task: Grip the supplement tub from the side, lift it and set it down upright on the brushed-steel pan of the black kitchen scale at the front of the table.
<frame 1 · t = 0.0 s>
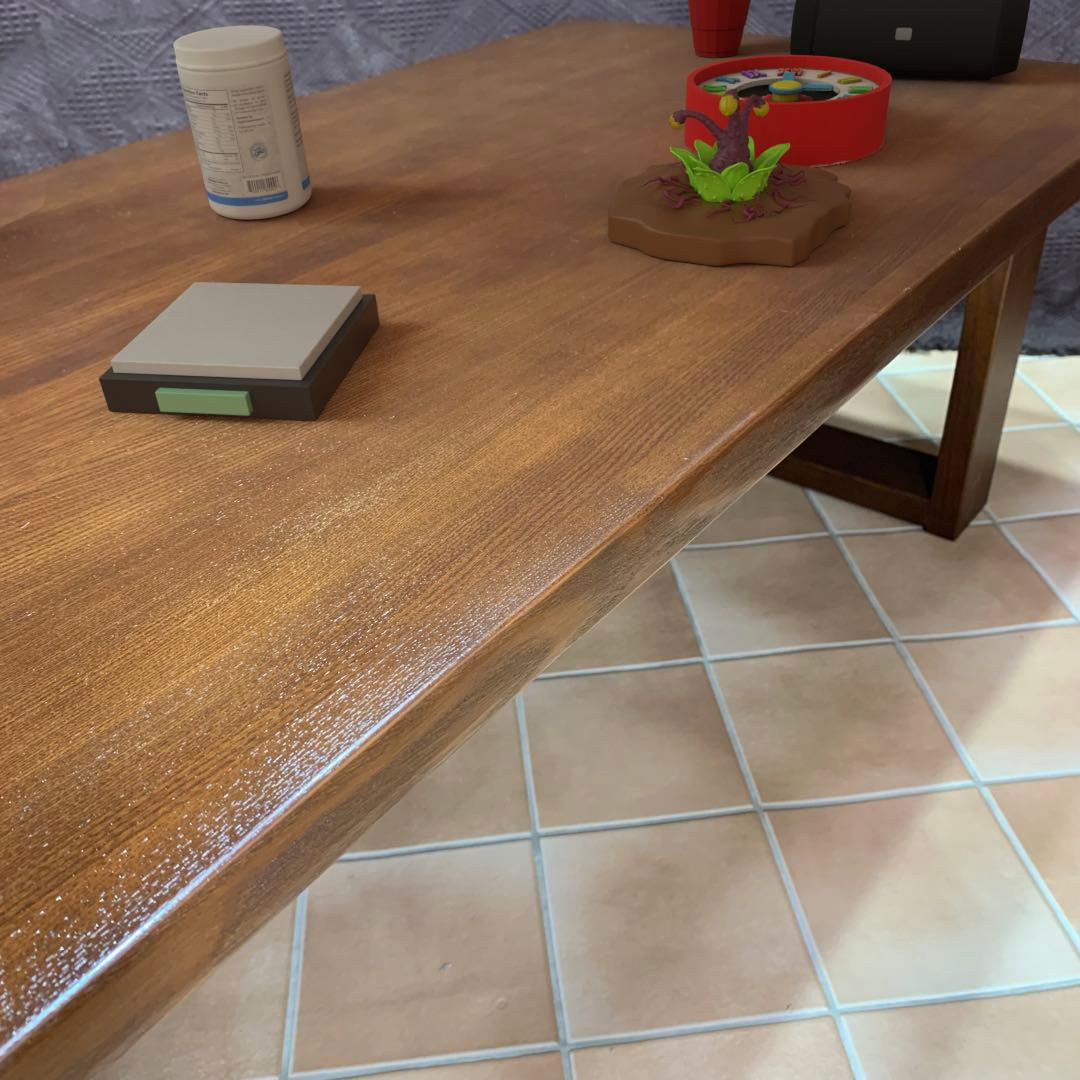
plant: (725, 225, 92), on the table
supplement tub: (262, 207, 101), on the table
scale: (252, 365, 74), on the table
plastic cup: (718, 54, 143), on the table
toy clock: (782, 140, 111), on the table
portable speaker: (899, 77, 129), on the table
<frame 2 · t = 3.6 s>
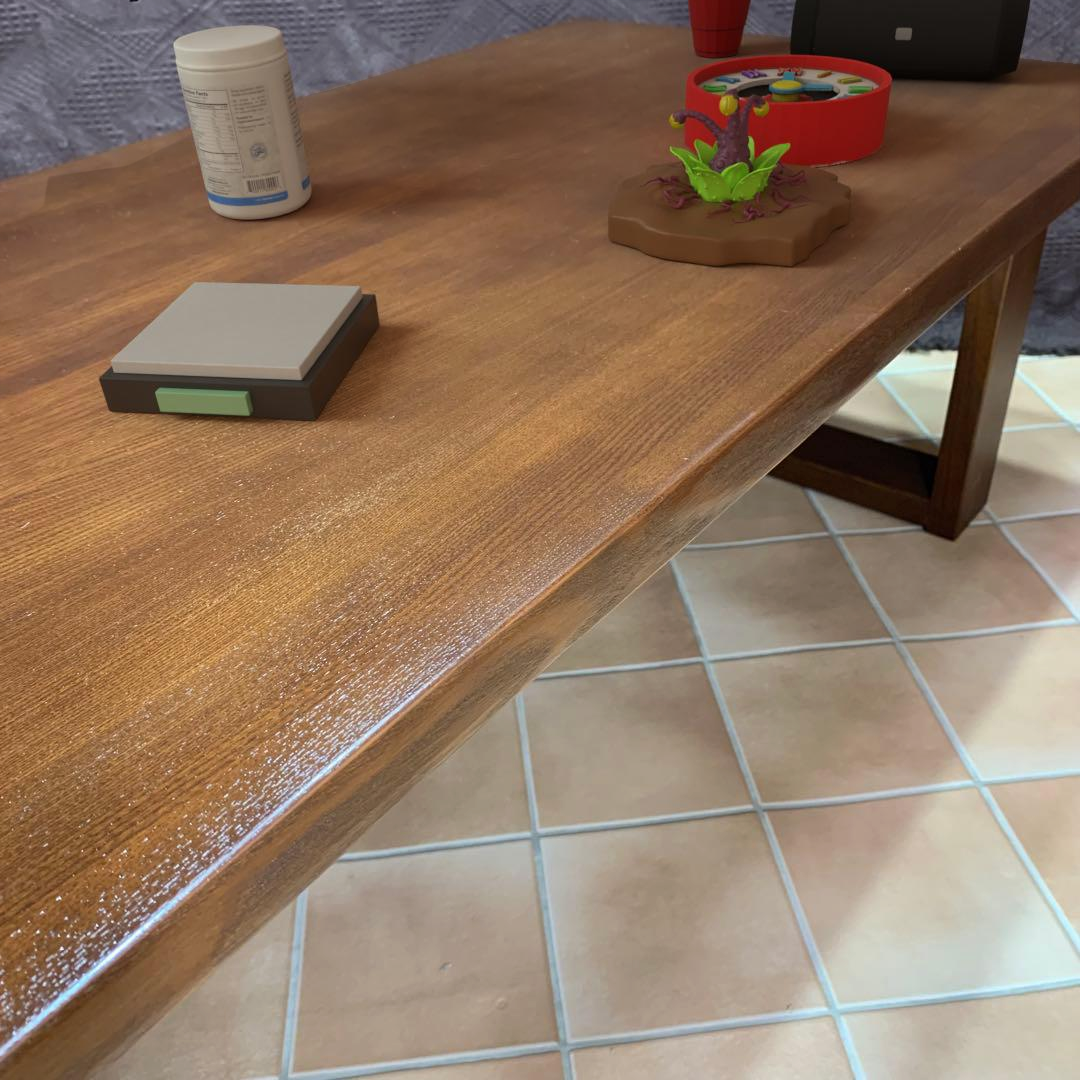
nothing on the table moved.
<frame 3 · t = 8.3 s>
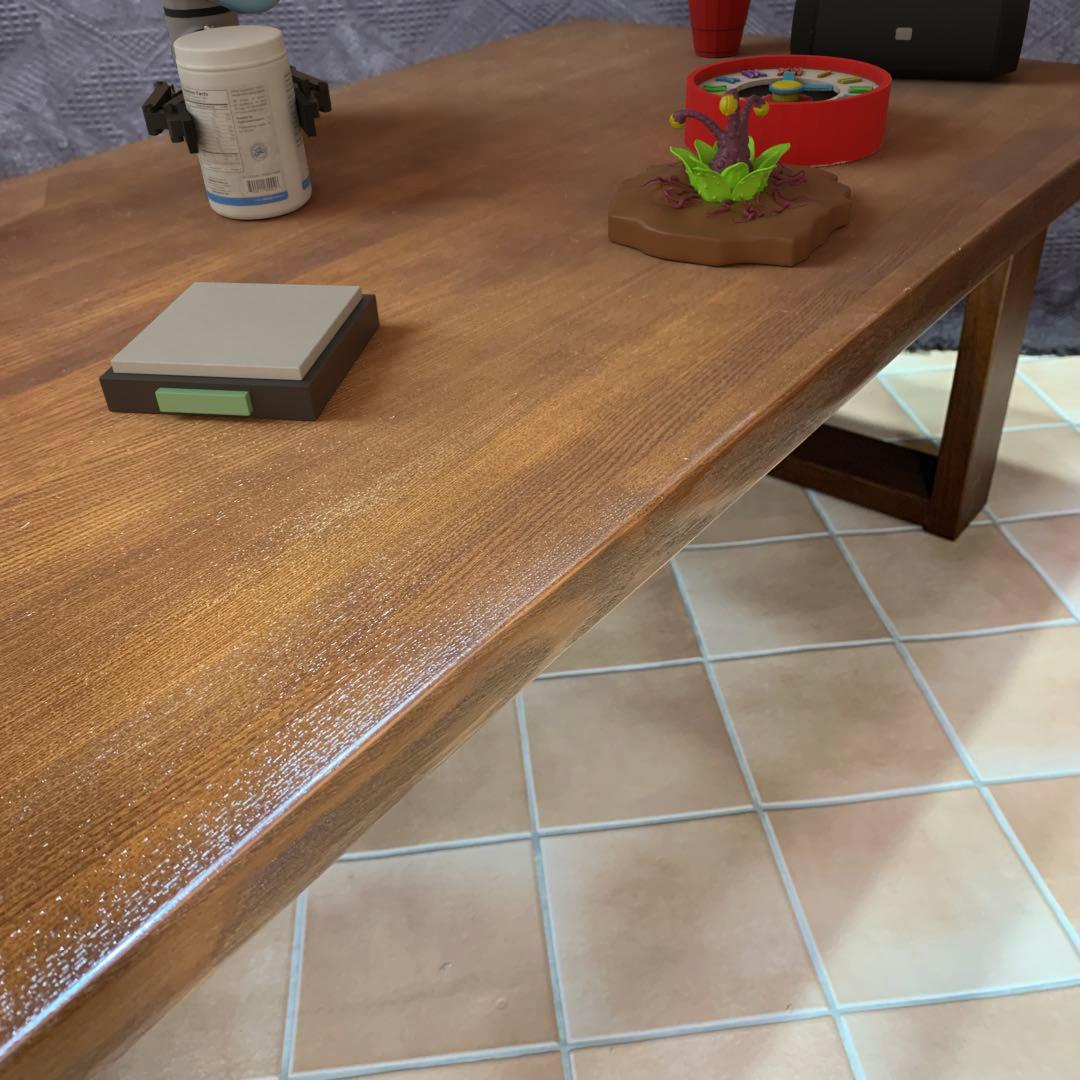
hand: (251, 128, 93), 8 cm above the table, tool horizontal, fingers closed on supplement tub, 9 cm apart
supplement tub: (262, 207, 101), on the table, touching gripper
everything else where it was.
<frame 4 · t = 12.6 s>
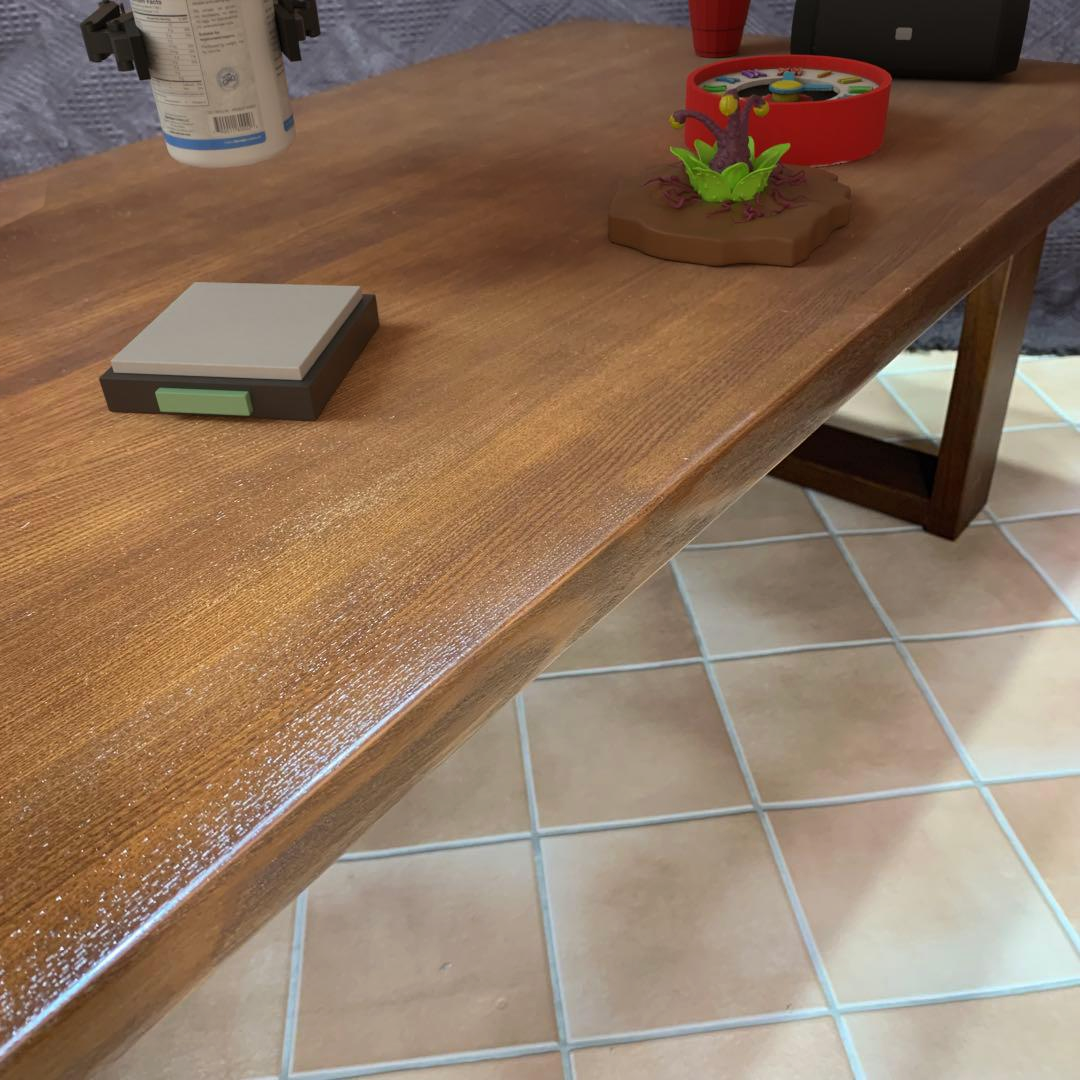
hand: (217, 49, 73), 18 cm above the table, tool horizontal, fingers closed on supplement tub, 9 cm apart
supplement tub: (234, 155, 81), point 10 cm above the table, touching gripper
everything else where it was.
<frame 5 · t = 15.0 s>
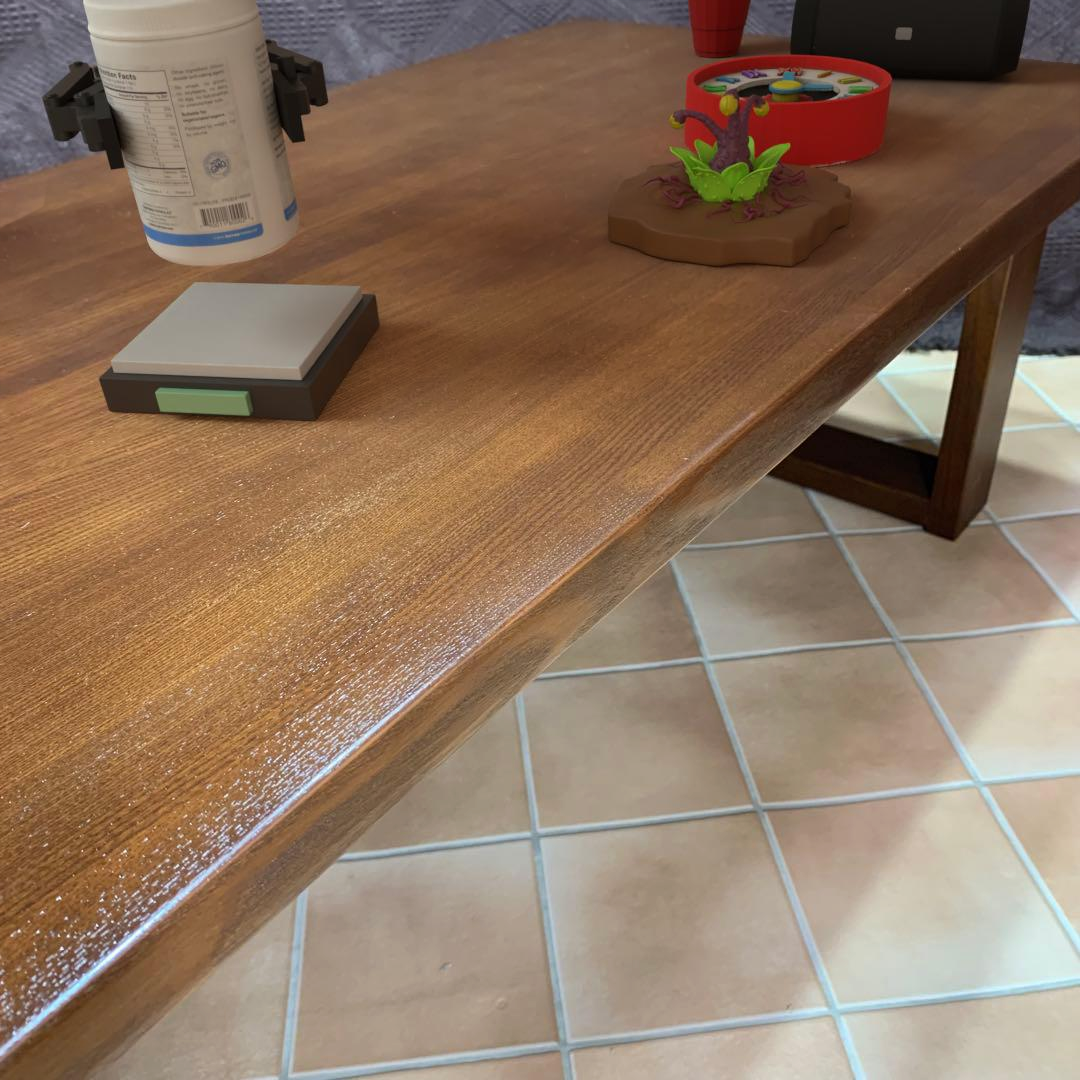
hand: (204, 130, 61), 17 cm above the table, tool horizontal, fingers closed on supplement tub, 9 cm apart
supplement tub: (227, 245, 69), point 8 cm above the table, touching gripper
everything else where it was.
when the fingers open (11 cm above the table, at t = 17.0 s): supplement tub stays where it is, resting on scale.
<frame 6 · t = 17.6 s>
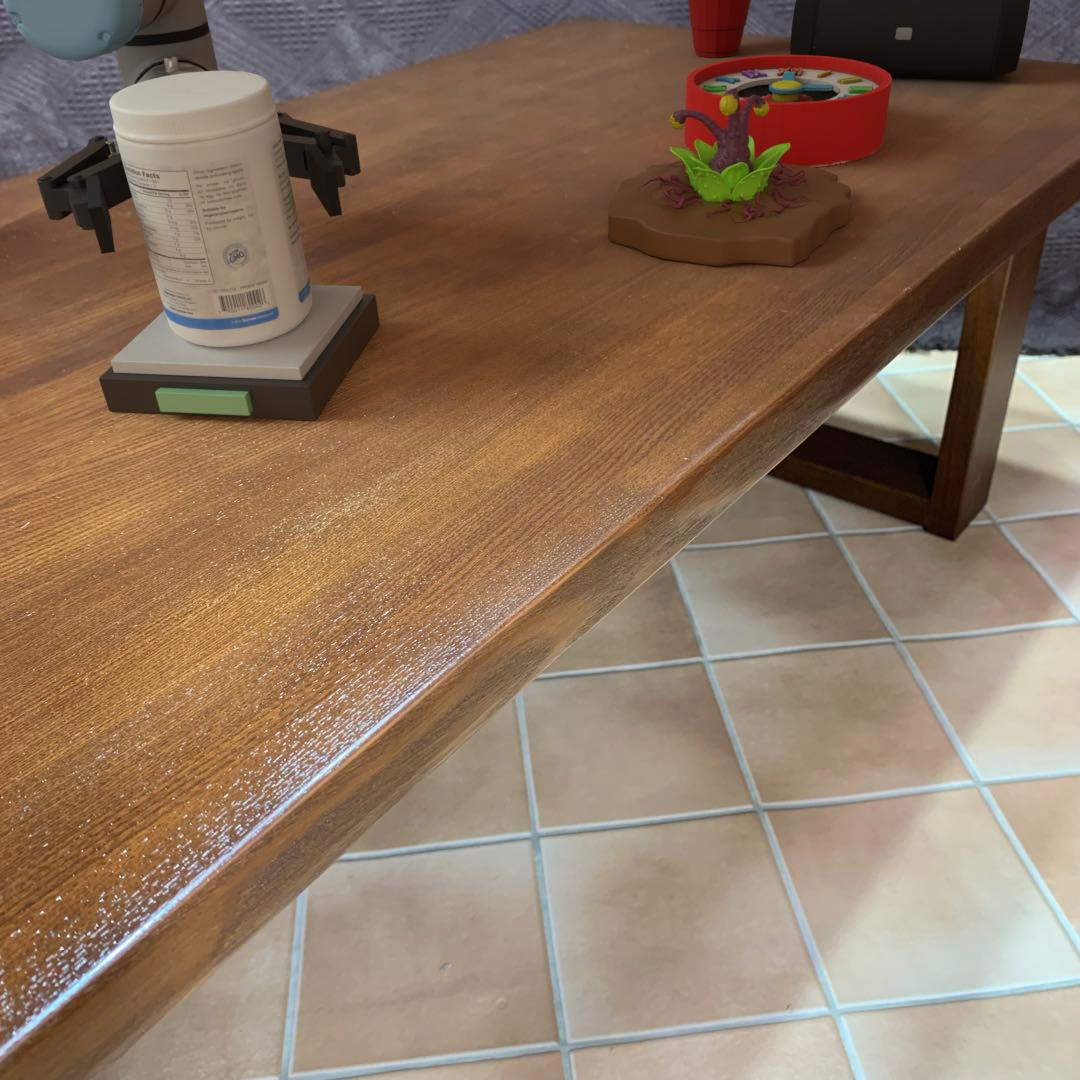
hand: (220, 212, 64), 12 cm above the table, tool horizontal, fingers open, 13 cm apart
supplement tub: (243, 323, 72), point 3 cm above the table, touching scale
everything else where it was.
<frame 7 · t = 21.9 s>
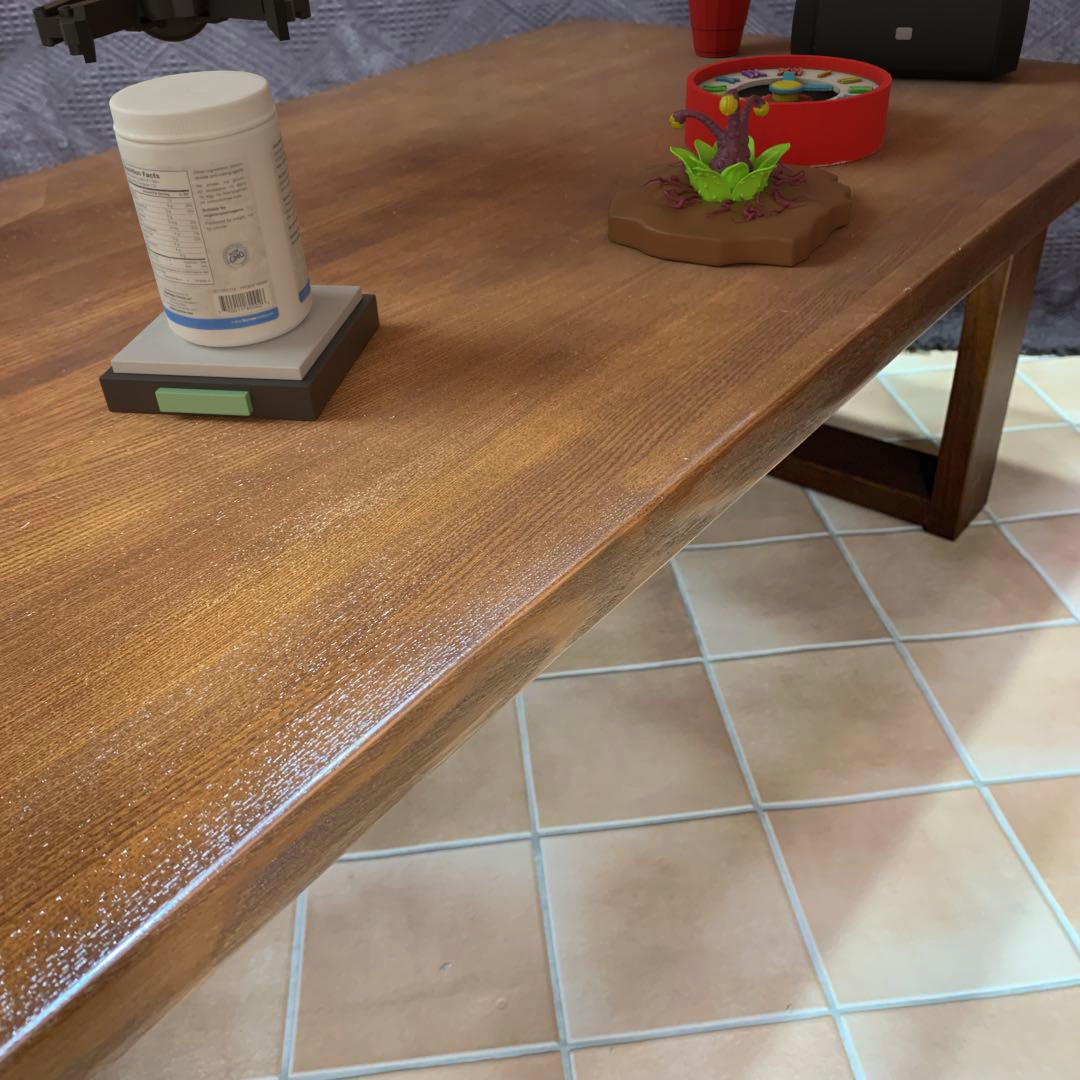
hand: (185, 31, 76), 18 cm above the table, tool horizontal, fingers open, 13 cm apart
nothing on the table moved.
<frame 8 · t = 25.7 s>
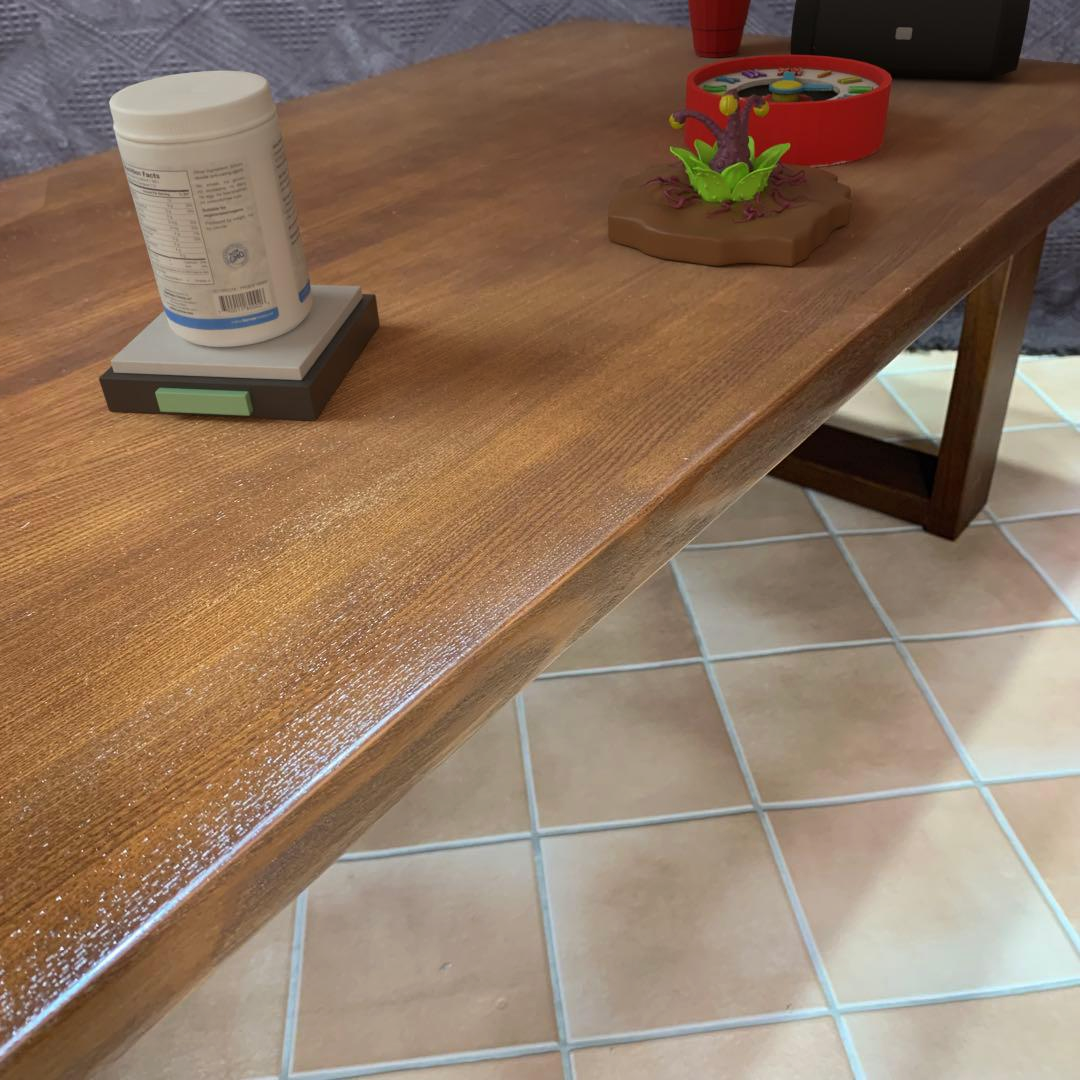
nothing on the table moved.
at the end: supplement tub inside the target area on the scale (0.0 cm from its centre), point 3.1 cm above the scale's base; supplement tub tilted 0°; the gripper is holding nothing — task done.
